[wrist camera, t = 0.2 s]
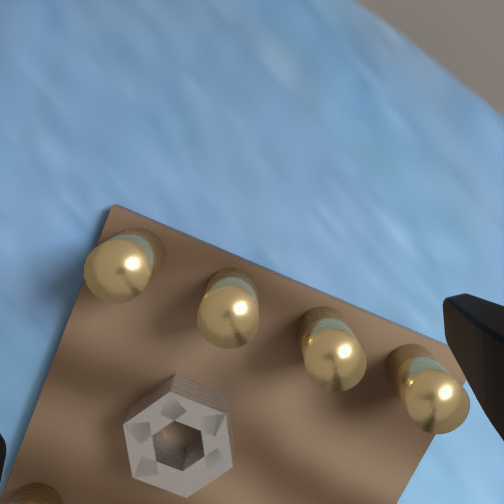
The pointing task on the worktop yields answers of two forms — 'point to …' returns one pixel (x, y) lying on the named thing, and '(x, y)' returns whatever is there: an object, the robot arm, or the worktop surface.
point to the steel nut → (173, 454)
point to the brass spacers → (245, 326)
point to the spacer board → (226, 380)
